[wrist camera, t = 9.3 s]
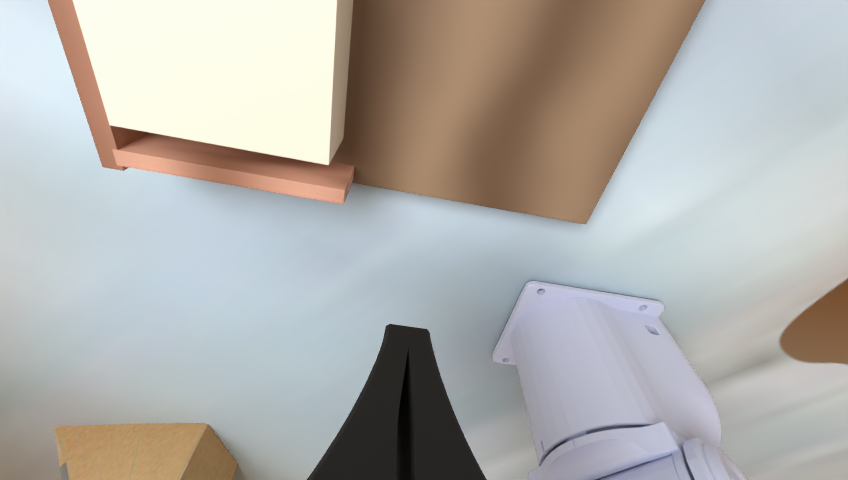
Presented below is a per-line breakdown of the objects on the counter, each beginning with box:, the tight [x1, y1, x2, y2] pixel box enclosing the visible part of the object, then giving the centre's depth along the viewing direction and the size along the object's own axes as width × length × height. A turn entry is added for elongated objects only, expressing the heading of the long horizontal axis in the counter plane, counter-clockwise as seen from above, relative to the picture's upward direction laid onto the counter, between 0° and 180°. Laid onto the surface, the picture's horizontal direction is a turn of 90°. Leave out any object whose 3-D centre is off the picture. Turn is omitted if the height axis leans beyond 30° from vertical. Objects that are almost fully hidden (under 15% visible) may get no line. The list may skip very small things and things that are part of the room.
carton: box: [73, 0, 353, 165], centre depth 13 cm, size 8×7×3 cm
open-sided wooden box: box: [48, 0, 705, 224], centre depth 15 cm, size 22×12×4 cm, turn 79°
